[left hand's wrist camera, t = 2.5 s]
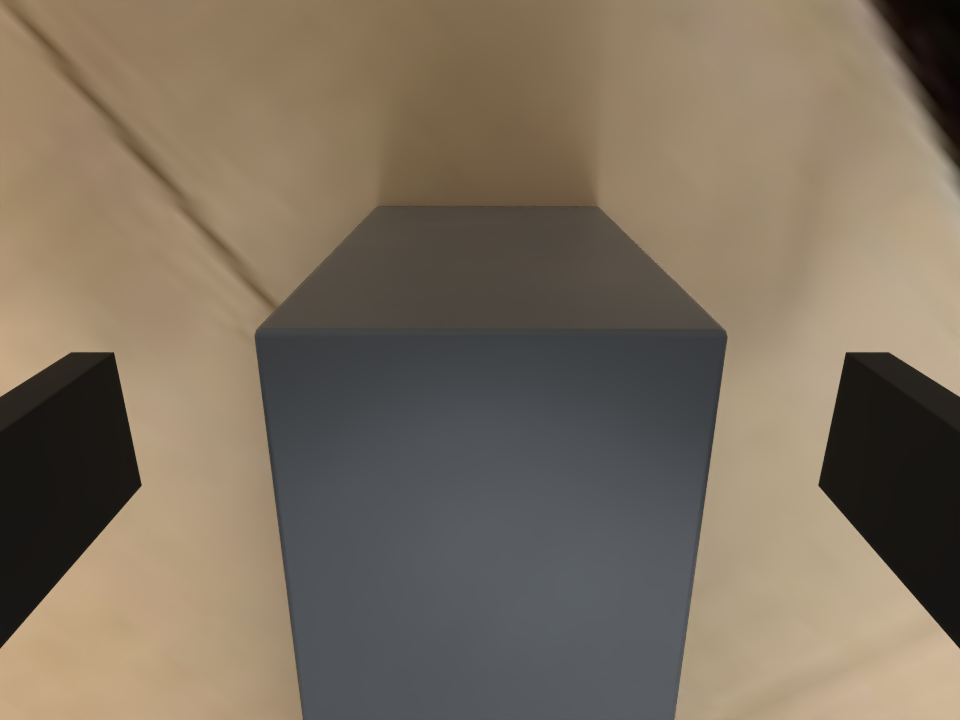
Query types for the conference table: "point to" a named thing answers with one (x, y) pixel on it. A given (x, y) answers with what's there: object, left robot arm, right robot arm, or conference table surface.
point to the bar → (489, 467)
